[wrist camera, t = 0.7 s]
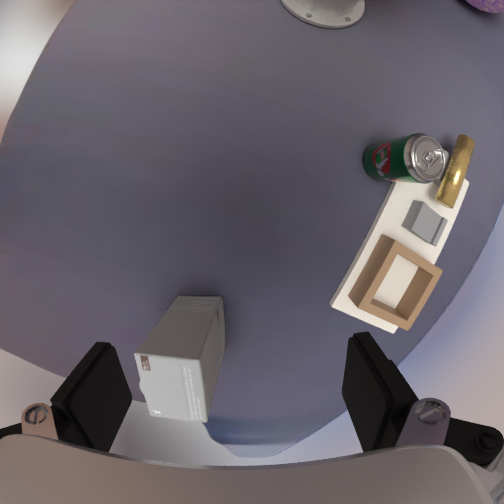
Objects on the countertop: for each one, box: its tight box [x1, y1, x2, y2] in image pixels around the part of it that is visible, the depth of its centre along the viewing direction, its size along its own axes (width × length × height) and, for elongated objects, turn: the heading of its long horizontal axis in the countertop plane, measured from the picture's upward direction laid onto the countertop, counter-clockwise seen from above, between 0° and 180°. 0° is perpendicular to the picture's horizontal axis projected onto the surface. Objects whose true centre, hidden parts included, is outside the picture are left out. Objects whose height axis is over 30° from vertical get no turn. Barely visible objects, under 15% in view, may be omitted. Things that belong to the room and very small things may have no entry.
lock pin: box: [435, 134, 475, 209], centre depth 29 cm, size 10×3×3 cm, turn 154°
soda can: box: [363, 133, 445, 184], centre depth 28 cm, size 5×5×12 cm
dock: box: [329, 150, 469, 334], centre depth 34 cm, size 26×12×5 cm, turn 154°
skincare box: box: [134, 296, 226, 422], centre depth 31 cm, size 8×7×16 cm
